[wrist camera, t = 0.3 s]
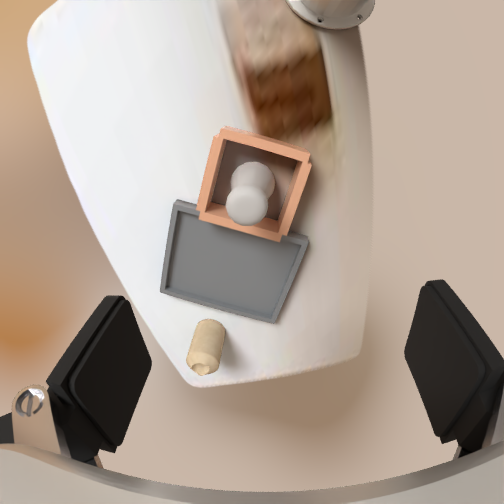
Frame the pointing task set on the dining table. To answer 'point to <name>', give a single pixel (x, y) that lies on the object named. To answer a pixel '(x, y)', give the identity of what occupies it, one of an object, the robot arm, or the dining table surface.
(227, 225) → the open container
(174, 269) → the tray
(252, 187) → the salt shaker
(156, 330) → the dining table surface
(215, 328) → the candle
